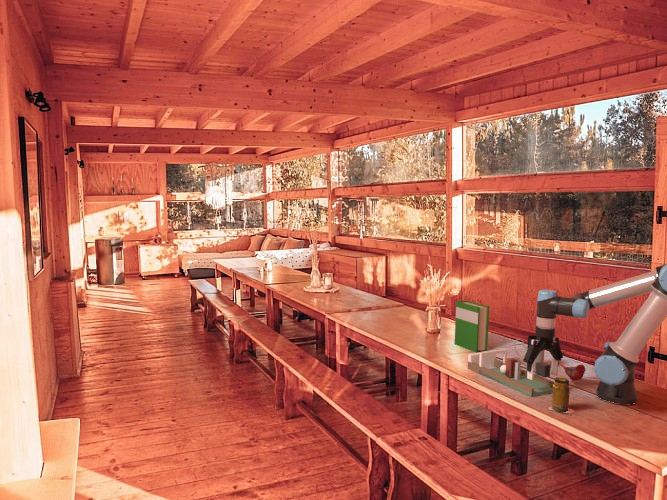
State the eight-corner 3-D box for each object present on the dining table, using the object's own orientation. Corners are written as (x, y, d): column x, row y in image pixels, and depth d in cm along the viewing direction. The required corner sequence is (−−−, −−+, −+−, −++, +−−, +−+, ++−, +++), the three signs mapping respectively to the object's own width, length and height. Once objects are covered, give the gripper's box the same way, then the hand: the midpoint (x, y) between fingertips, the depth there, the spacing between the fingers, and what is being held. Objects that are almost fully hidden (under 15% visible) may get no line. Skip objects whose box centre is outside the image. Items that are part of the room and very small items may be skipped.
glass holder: (545, 371, 260) (547, 340, 259) (514, 369, 263) (516, 338, 262) (542, 366, 269) (544, 336, 267) (512, 363, 272) (513, 333, 270)
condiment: (554, 404, 219) (556, 375, 218) (576, 410, 213) (578, 380, 212) (547, 409, 214) (549, 379, 213) (569, 415, 208) (571, 384, 207)
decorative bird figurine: (581, 389, 237) (583, 366, 236) (555, 375, 254) (556, 354, 253) (587, 388, 238) (589, 366, 237) (560, 375, 255) (561, 354, 254)
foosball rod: (551, 389, 231) (553, 364, 230) (540, 391, 228) (542, 366, 227) (515, 374, 249) (516, 351, 248) (505, 376, 246) (506, 353, 245)
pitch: (558, 391, 233) (559, 368, 232) (531, 396, 227) (532, 373, 226) (492, 364, 269) (493, 344, 268) (467, 368, 262) (468, 348, 261)
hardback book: (487, 351, 293) (489, 306, 291) (476, 352, 290) (478, 307, 288) (464, 342, 309) (466, 300, 307) (454, 344, 306) (456, 301, 303)
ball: (510, 374, 250) (511, 365, 250) (503, 375, 249) (504, 366, 248) (504, 371, 254) (504, 363, 254) (497, 372, 252) (498, 364, 252)
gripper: (559, 322, 238) (556, 370, 240) (516, 327, 227) (513, 377, 229) (574, 326, 231) (570, 375, 233) (529, 331, 220) (526, 383, 222)
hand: (542, 376), depth 231 cm, fingers open, 13 cm apart
